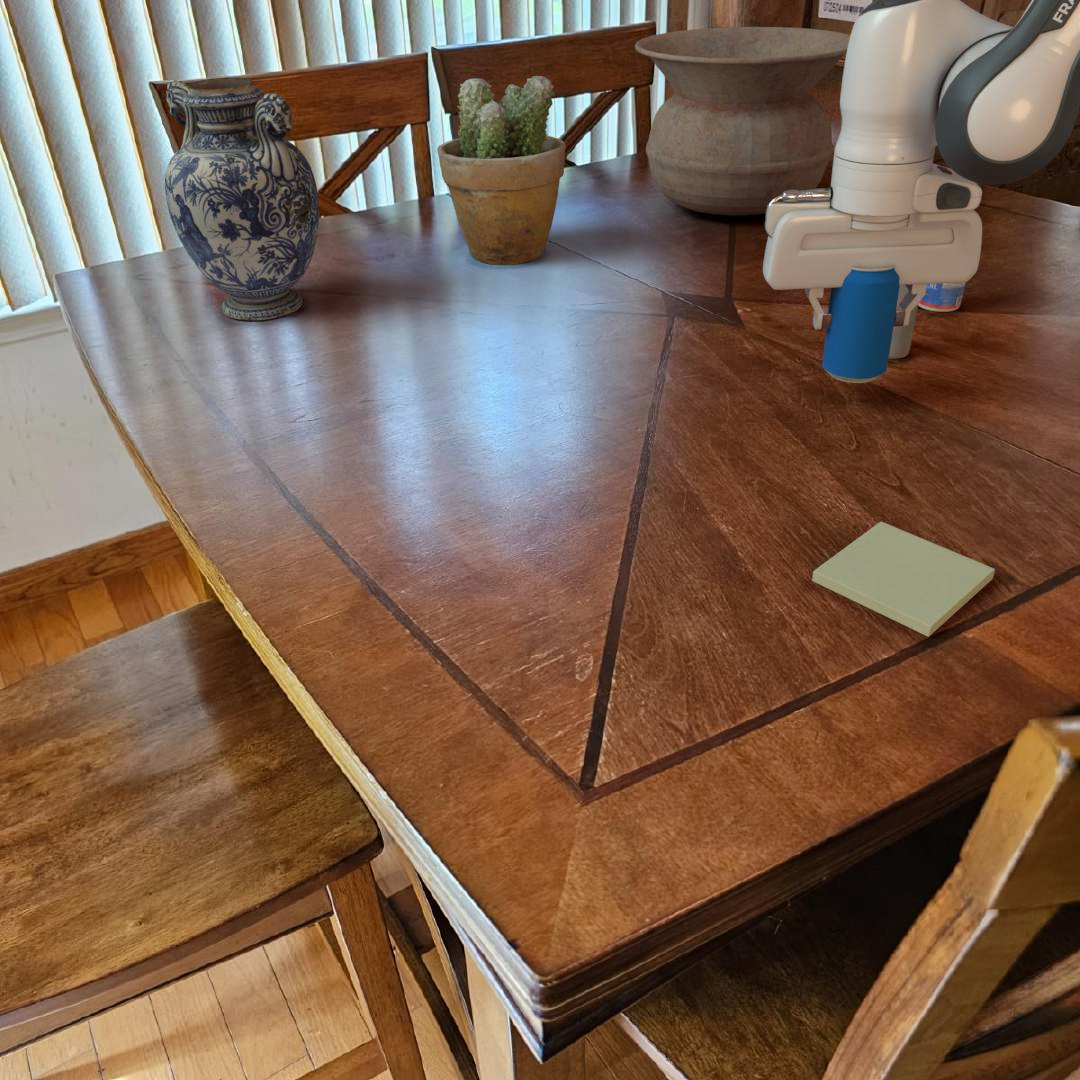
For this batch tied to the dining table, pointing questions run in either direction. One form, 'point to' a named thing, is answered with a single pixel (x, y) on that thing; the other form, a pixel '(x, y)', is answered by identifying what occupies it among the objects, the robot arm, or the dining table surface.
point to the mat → (904, 577)
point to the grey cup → (902, 331)
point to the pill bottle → (942, 297)
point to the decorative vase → (242, 195)
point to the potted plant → (504, 170)
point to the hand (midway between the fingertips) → (860, 326)
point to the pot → (740, 115)
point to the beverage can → (861, 325)
